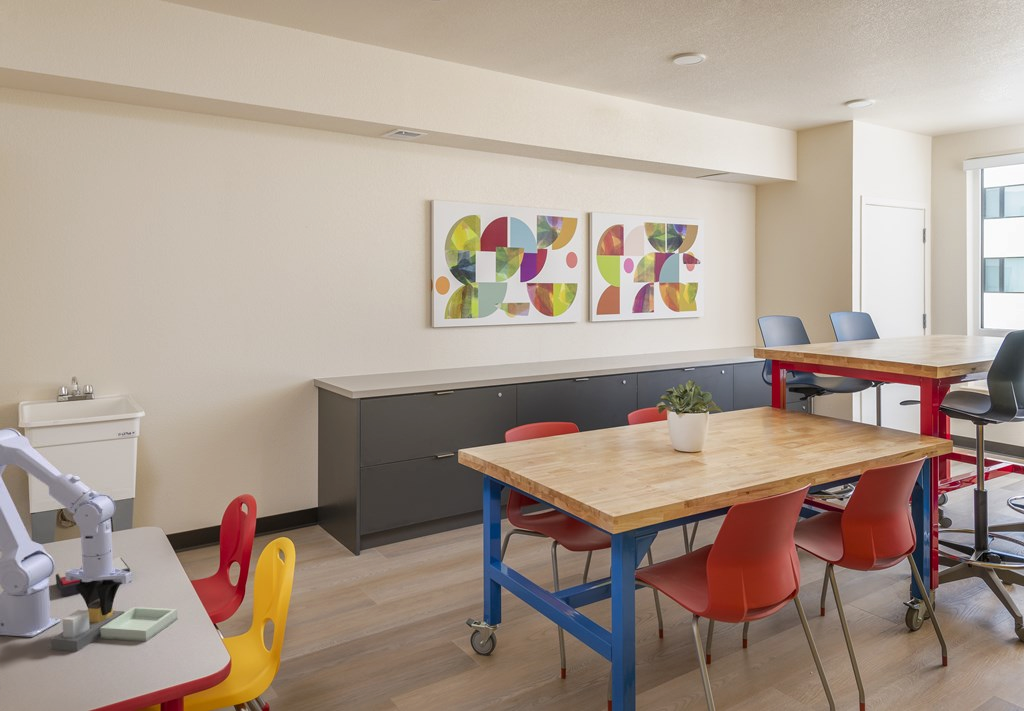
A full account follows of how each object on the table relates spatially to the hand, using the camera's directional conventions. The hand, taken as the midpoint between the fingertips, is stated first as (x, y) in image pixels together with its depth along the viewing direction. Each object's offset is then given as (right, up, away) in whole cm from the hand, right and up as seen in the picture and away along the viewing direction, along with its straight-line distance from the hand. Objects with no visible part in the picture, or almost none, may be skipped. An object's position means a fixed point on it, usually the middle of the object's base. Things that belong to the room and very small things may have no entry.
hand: (100, 612), depth 155 cm
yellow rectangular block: (0, -3, 0) cm, 3 cm away
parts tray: (+9, -3, -1) cm, 10 cm away
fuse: (-1, -4, -7) cm, 8 cm away
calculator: (-17, -2, +25) cm, 30 cm away
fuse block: (-1, -3, -3) cm, 5 cm away
